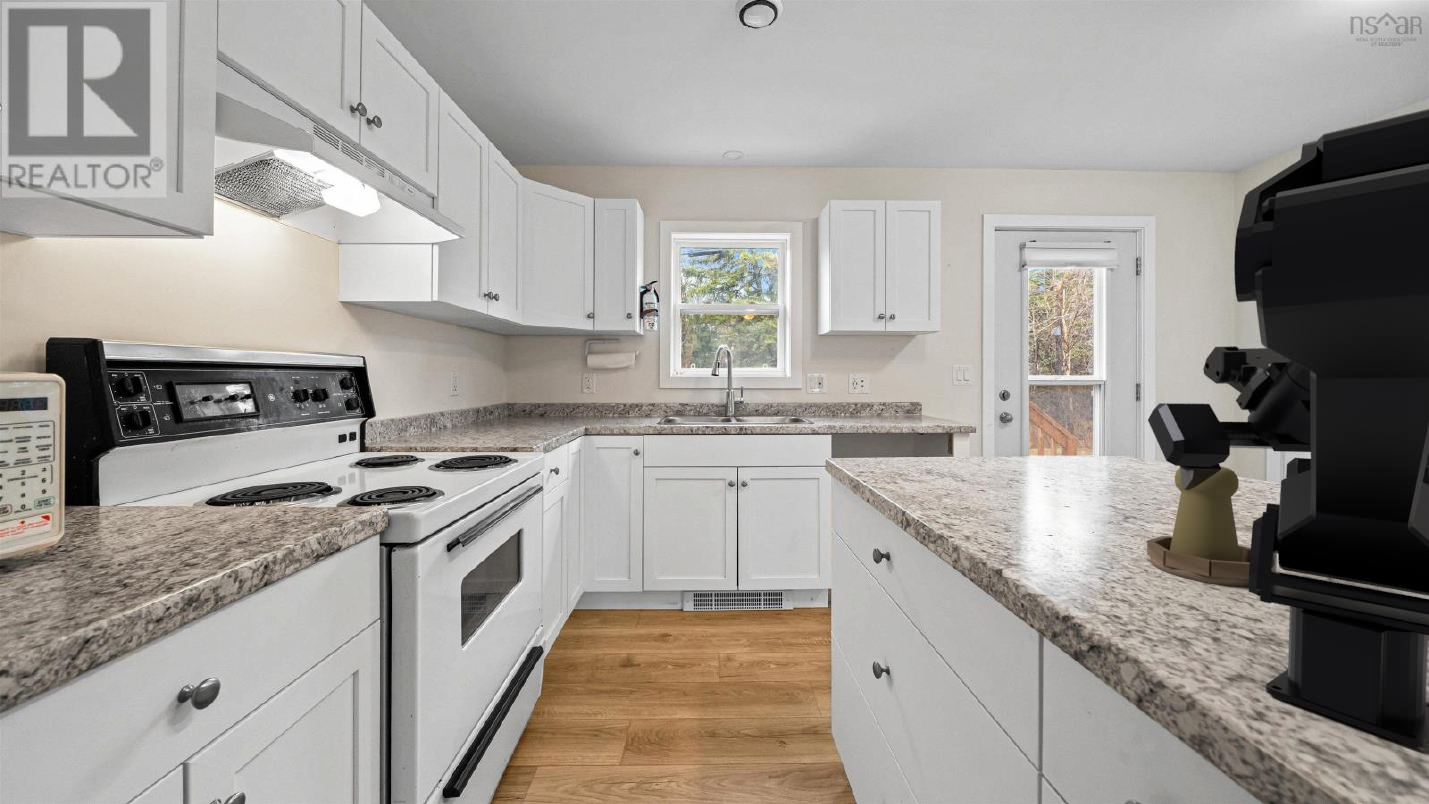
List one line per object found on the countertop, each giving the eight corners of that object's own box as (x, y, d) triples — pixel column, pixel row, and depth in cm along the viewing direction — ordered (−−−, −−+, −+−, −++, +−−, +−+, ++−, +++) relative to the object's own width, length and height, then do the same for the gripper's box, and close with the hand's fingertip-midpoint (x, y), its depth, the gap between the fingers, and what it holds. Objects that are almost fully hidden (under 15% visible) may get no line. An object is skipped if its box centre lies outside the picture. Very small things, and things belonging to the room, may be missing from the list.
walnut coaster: (1247, 593, 53) (1247, 569, 53) (1134, 565, 61) (1134, 544, 61) (1283, 576, 57) (1284, 554, 57) (1173, 551, 66) (1173, 532, 66)
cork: (1210, 555, 62) (1212, 461, 62) (1258, 573, 56) (1261, 469, 56) (1155, 554, 63) (1156, 460, 62) (1196, 572, 57) (1198, 469, 56)
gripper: (1420, 309, 45) (1313, 428, 56) (1159, 318, 51) (1107, 426, 62) (1526, 405, 38) (1380, 521, 49) (1208, 404, 43) (1140, 509, 54)
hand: (1239, 488), depth 54 cm, fingers open, 9 cm apart
